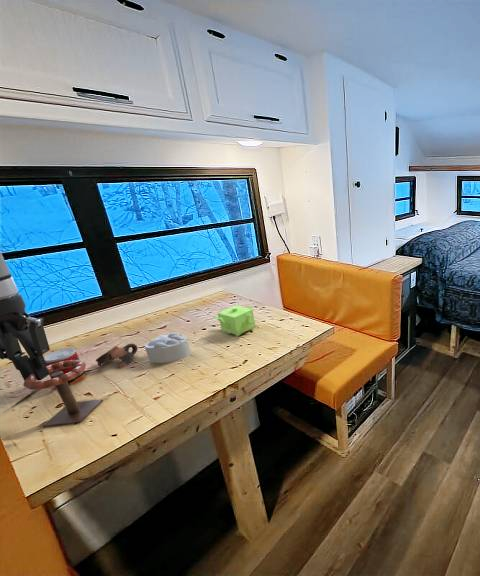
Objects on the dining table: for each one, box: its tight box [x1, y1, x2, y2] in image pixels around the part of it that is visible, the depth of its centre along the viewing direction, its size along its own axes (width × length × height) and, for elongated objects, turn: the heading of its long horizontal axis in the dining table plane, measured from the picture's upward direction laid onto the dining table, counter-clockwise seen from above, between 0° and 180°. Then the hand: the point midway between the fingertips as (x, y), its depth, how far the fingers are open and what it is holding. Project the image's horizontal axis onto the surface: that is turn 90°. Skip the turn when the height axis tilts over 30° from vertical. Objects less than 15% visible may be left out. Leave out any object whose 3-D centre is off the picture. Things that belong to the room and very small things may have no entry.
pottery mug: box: [95, 343, 138, 369], centre depth 111 cm, size 12×9×8 cm
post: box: [42, 371, 104, 428], centre depth 85 cm, size 9×9×14 cm
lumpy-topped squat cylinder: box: [144, 331, 192, 364], centre depth 114 cm, size 10×13×9 cm
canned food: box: [43, 347, 87, 387], centre depth 100 cm, size 8×8×11 cm
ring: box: [22, 360, 86, 391], centre depth 82 cm, size 12×12×2 cm
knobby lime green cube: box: [214, 305, 256, 337], centre depth 132 cm, size 15×14×11 cm
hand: (37, 377), depth 82 cm, fingers closed on ring, 2 cm apart
